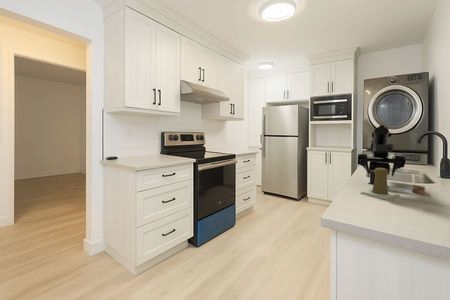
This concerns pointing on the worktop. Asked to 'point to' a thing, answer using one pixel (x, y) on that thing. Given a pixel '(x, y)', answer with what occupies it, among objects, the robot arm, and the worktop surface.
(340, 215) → the worktop surface
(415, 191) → the brick
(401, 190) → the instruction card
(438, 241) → the worktop surface
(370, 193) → the baseplate
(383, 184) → the cork
